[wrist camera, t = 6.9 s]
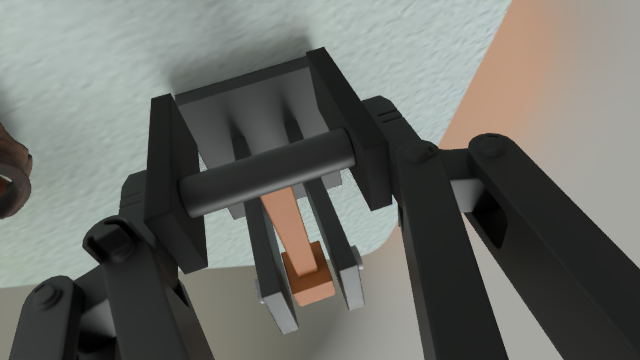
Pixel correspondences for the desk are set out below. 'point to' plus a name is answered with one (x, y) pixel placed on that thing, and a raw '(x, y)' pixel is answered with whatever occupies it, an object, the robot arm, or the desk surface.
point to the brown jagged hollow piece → (13, 174)
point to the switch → (278, 200)
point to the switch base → (260, 136)
